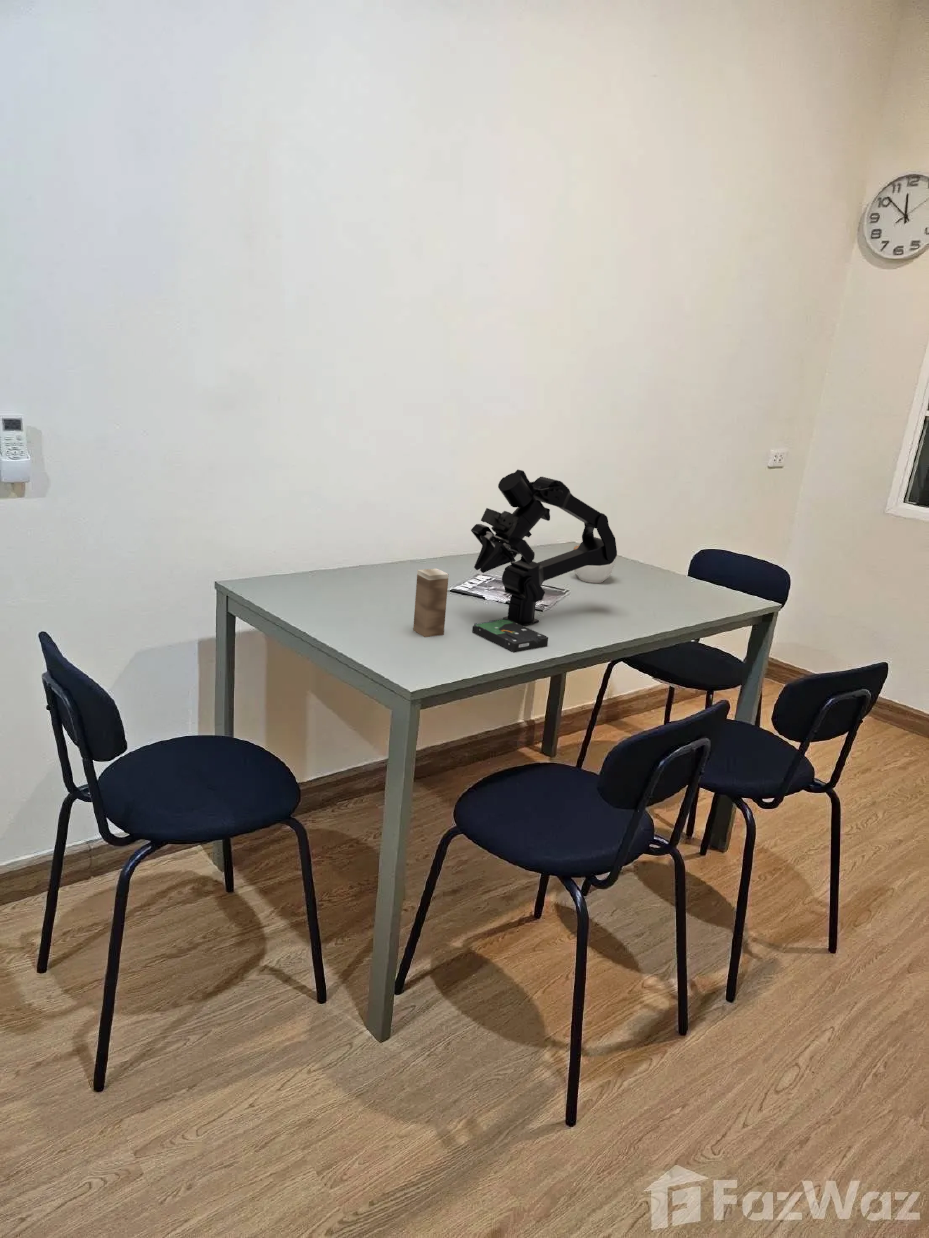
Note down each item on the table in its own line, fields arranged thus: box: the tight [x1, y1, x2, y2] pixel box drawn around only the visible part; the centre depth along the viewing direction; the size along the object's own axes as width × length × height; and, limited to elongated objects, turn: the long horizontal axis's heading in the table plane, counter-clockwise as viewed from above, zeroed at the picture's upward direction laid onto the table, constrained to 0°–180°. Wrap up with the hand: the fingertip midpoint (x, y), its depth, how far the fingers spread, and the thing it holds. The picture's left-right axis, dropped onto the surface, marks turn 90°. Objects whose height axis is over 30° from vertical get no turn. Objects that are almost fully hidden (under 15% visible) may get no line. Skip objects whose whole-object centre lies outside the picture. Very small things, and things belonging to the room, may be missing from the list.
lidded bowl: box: [573, 544, 618, 584], centre depth 249 cm, size 13×13×11 cm
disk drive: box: [471, 618, 549, 653], centre depth 191 cm, size 10×3×15 cm
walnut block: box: [413, 568, 450, 638], centre depth 189 cm, size 5×5×14 cm
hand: (478, 570), depth 194 cm, fingers open, 2 cm apart
